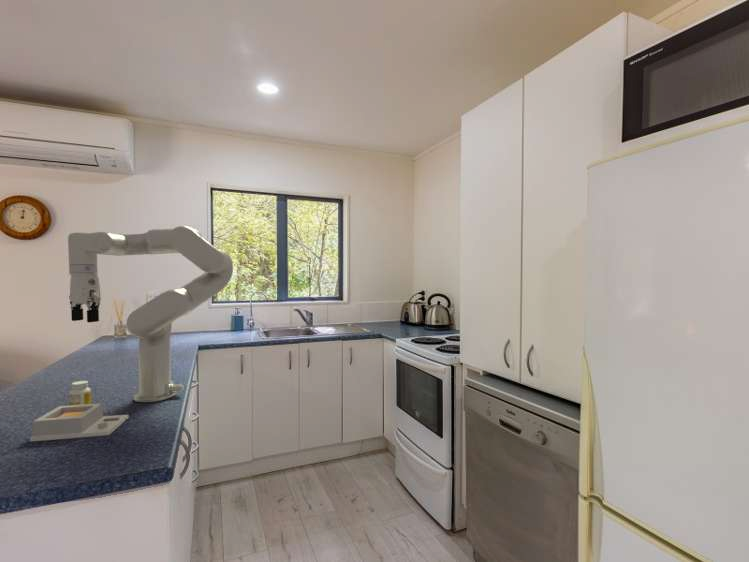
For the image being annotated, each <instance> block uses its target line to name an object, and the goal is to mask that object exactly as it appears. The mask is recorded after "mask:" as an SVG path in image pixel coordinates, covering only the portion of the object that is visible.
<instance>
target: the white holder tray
mask: <svg viewBox="0 0 749 562" xmlns="http://www.w3.org/2000/svg"><path fill="white" fill-rule="evenodd" d="M103 406H104V405H103V403H91V404H86V405H71V406H69V405H59V406H57V407H55V408H54V409H52V410H51V411H49V412H46V413H45V414H43V415H42V416H40V417H38V418H36V419H34V420H33V422H32V430H33V431H32V432H33V433H32V436H30V437H29V442H39V441H42V442H43V441H51V440H52V441H53V440H65V439H67V440H68V439H76V438H79V439H80V438H90V437H100V436H101V437H102V436H103V437H104V436H109V435H111V434H112V433H113V432H114V431H115V430H116V429H118V428H119V427H120V426H121V425H122V424H124V423H125V420H126V419H127V420H128V419H129V414H119V415H115V414H114V415H106V416H105V415H104V411H103V410H104V407H103ZM83 411H85V412H84V413H82V414H81V415H79V416H72V417H59V416H61V415H62V414H64V413H69V412H83ZM57 417H59V418H57ZM127 420H126V421H127Z"/></svg>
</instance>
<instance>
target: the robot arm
mask: <svg viewBox="0 0 749 562" xmlns="http://www.w3.org/2000/svg"><path fill="white" fill-rule="evenodd" d="M67 240H68V241H67V245H68V246H67V248H68V249H67V250H68V275H70V281H69V282H70V283H69V284H70V285H69V295H68V298H69V305H70V310H71V314H70V315H71V321H73V322H76V321H83V320H84V308H83V305H86V307H87V310H86V322H87V323H97V322H99V321H100V315H99V314H100V311H99V310H100V304H101V301H102V299H101V297H102V296H101V286H100V280H99V276H98V255H103V256H104V255H105V256H121V257H124V256H138V255H139V256H140V255H141V256H142V255H151V256H152V255H166V254H180V255H181V256H183V257H184V258H185V259H187V260H189V262H190V263H192V264H193V265H194V266H196V267H197V268H198V269H200V270H201V271H203V273H202V274H201V275H199V276H197V277H195V278H193V279H192V280H191V281H189V282H188V283H186V284H183V286H181V287H177V288H174V289H168V290H166V291H164V292H162V293H160V294H159V295H157V296H155V297H153V298H152V299H150V300H149V301H148V302H146V303H144V304H142V305H141V306H140V307H137V308H136V309H135V310H133V311H132V312H131V313H130V314H129V315H128V317H127V319H126V329H127V331H128V333H129V334H130V335H132V336H134V337H136V338H139V340H138V388H139V389H138V390H139V391H138V393H136V394H135V395H134V396H133V400H134V401H135V402H137V403H155V402H161V401H164V400H168V399H171V398H172V397H174V396H176V394H177V392H181V391H182V392H183V391H185V390H184V389H185V386H184V384H182V383H178V384H175V383H174V380H171V377H172V375H171V368H172V367H171V335H172V324H173V322H175V321H176V320H177V319H180V318H181V317H183V316H187V315H188V314H190V313H191V312H193V311H194V310H195V309H196V308H198V307H199V306H201V305H203V304H204V303H206V302H207V301H208V300H210V299H211V298H213V297H214V296H216V295H217V294H218V293H220V292H221V291H222V290H223V289H225V288H226V286H227V285H228V284H229V282H230V281H231V279H232V276H233V272H234V263H233V260H232V258H231V255H230V254H228V253H227V252H226V251H225V250H222V249H217V248H216V247H215V246H213V245H212V244H211V243H210V242H208V241H207V240H206V239H204V238H203V234H202V233H201V232H200V231H199V230H198V229H195V228H193V227H190V226H187V225H179V226H176V227H174V228H164V229H163V228H157V229H154V228H153V229H150V230H148V231H147V232H144V233H136V234H135V233H133V234H118V233H113V232H107V231H98V232H97V231H96V232H72V233H69V234H68V236H67Z"/></svg>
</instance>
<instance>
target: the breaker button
mask: <svg viewBox="0 0 749 562" xmlns="http://www.w3.org/2000/svg"><path fill="white" fill-rule="evenodd" d="M84 412H85V411H83V412H69V413H64V414H62V415H61V416H59V417H72V416H79V415H81V414H82V413H84ZM59 417H57V418H59Z"/></svg>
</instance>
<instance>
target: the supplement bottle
mask: <svg viewBox="0 0 749 562" xmlns="http://www.w3.org/2000/svg"><path fill="white" fill-rule="evenodd" d="M88 386H89V381H88V380H78V381H74V382H72V383H71V390H69V392H68V406H71V405H86V404H92V391H91V388H90V387H88Z"/></svg>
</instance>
